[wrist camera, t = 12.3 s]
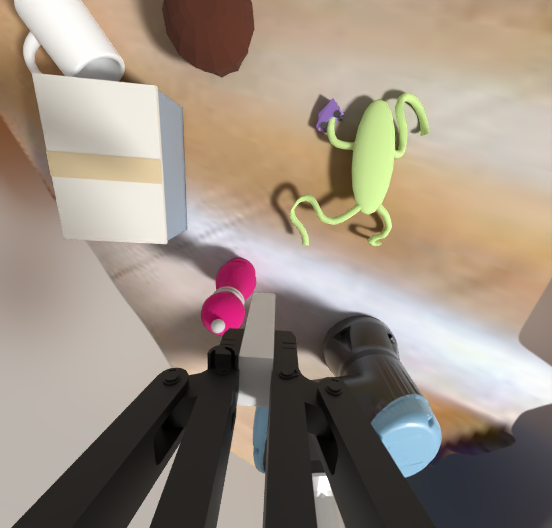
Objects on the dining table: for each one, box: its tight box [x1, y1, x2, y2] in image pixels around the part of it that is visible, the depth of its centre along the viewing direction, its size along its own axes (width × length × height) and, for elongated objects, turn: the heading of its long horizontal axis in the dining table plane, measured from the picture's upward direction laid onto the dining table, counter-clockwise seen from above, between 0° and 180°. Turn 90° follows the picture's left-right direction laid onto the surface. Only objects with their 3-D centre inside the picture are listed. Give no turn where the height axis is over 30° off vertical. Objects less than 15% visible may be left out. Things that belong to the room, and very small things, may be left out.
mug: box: [14, 0, 125, 82], centre depth 37 cm, size 12×10×8 cm
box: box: [158, 91, 187, 241], centre depth 41 cm, size 20×14×9 cm
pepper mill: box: [201, 258, 256, 335], centre depth 42 cm, size 7×7×20 cm
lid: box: [32, 73, 168, 244], centre depth 36 cm, size 21×14×1 cm
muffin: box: [163, 0, 254, 77], centre depth 35 cm, size 12×11×10 cm
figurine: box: [290, 93, 429, 246], centre depth 43 cm, size 18×27×6 cm
